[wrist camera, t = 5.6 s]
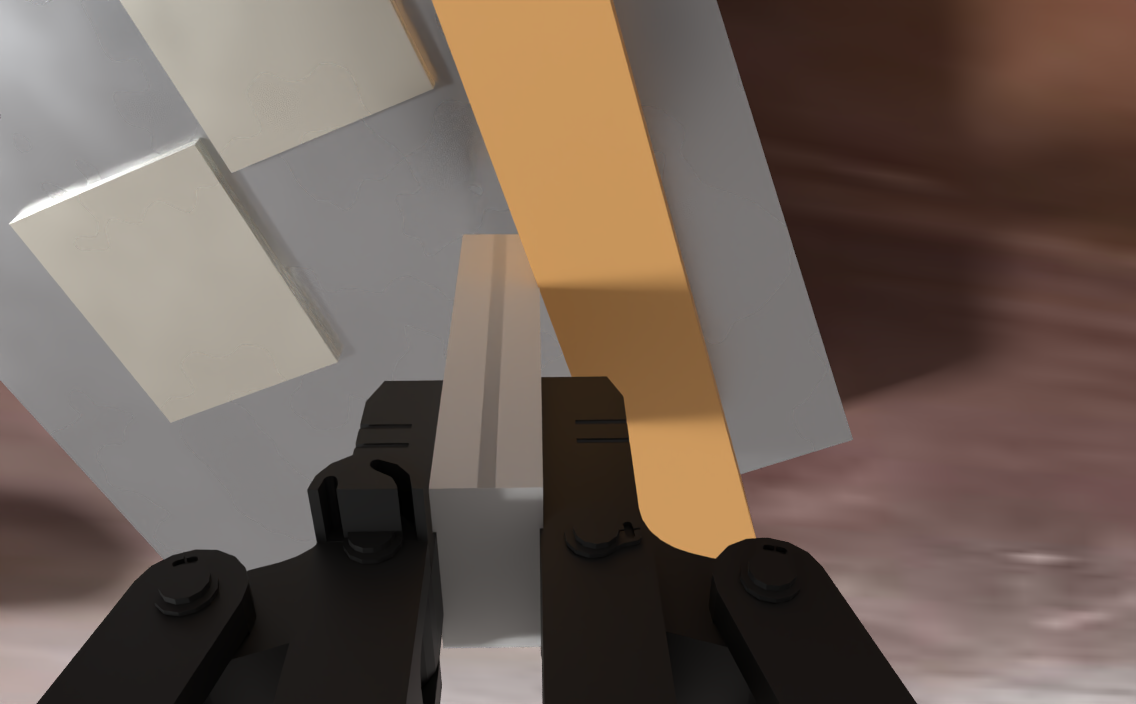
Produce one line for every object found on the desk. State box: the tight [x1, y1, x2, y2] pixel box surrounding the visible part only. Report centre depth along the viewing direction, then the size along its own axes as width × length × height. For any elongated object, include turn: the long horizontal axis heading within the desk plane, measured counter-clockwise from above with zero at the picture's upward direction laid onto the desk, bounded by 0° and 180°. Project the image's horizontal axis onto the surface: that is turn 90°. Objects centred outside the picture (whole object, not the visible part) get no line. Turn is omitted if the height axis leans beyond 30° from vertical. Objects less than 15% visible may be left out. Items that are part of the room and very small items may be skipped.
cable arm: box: [432, 0, 756, 558], centre depth 14 cm, size 18×4×4 cm, turn 17°
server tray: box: [0, 0, 853, 571], centre depth 17 cm, size 20×16×6 cm
